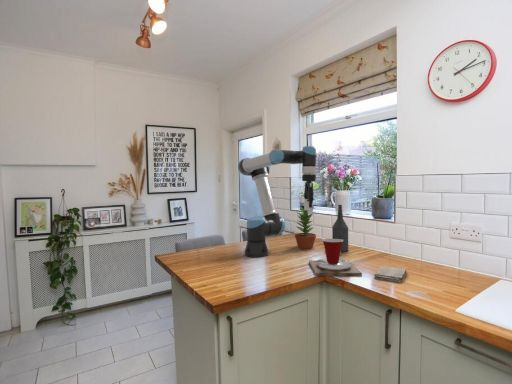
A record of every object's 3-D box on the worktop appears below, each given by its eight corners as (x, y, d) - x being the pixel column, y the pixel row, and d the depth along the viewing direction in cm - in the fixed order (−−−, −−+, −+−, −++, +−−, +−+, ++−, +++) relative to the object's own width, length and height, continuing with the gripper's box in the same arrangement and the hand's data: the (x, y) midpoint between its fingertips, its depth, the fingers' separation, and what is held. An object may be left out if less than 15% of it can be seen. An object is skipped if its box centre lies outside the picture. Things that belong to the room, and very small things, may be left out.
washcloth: (373, 279, 134) (373, 273, 134) (380, 269, 149) (380, 263, 149) (401, 284, 127) (401, 277, 127) (406, 273, 142) (406, 267, 142)
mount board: (315, 276, 139) (315, 269, 139) (308, 263, 161) (308, 256, 161) (361, 276, 138) (361, 268, 138) (348, 263, 160) (348, 256, 160)
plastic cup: (341, 259, 155) (341, 237, 154) (345, 265, 144) (345, 241, 144) (321, 259, 156) (320, 237, 155) (323, 264, 145) (323, 241, 145)
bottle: (349, 249, 191) (349, 204, 190) (346, 252, 183) (346, 205, 182) (334, 247, 197) (334, 203, 196) (330, 250, 188) (330, 205, 187)
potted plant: (290, 246, 203) (290, 203, 202) (309, 244, 208) (309, 203, 207) (299, 250, 189) (299, 205, 188) (320, 248, 194) (320, 204, 193)
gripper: (319, 174, 149) (318, 215, 150) (312, 174, 174) (311, 209, 175) (305, 174, 149) (304, 214, 150) (299, 174, 174) (299, 208, 175)
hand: (308, 211), depth 163 cm, fingers open, 13 cm apart
